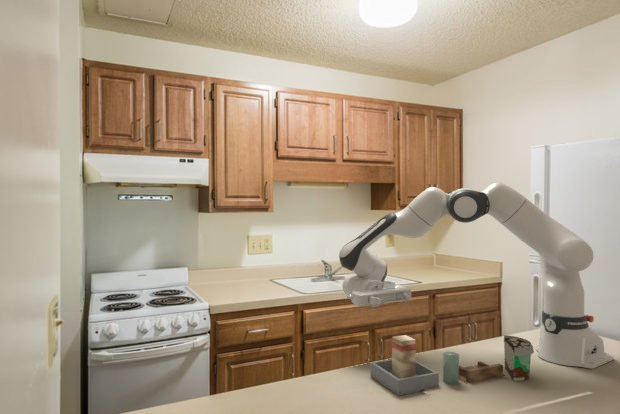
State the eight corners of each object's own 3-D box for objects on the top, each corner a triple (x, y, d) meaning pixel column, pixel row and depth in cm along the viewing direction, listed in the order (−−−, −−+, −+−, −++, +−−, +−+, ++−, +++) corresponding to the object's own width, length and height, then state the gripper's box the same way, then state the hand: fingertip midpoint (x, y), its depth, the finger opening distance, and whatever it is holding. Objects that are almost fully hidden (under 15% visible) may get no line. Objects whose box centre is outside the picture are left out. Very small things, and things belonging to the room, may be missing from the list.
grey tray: (408, 369, 125) (408, 356, 125) (438, 387, 112) (438, 373, 112) (370, 375, 120) (370, 362, 120) (398, 395, 107) (398, 380, 107)
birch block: (405, 374, 119) (405, 334, 119) (415, 380, 115) (415, 339, 115) (391, 376, 117) (391, 336, 117) (401, 383, 113) (401, 341, 113)
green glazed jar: (451, 379, 117) (451, 350, 117) (462, 385, 114) (462, 355, 114) (440, 382, 116) (440, 352, 116) (450, 387, 112) (450, 357, 112)
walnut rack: (481, 366, 127) (481, 354, 127) (506, 377, 119) (506, 364, 119) (443, 373, 122) (443, 360, 122) (466, 385, 113) (466, 372, 113)
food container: (540, 387, 112) (540, 349, 112) (515, 385, 113) (515, 348, 114) (526, 370, 124) (526, 335, 124) (503, 368, 126) (503, 334, 126)
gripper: (344, 286, 141) (365, 293, 128) (396, 281, 149) (421, 287, 136) (344, 305, 141) (366, 314, 128) (397, 299, 149) (421, 306, 136)
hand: (394, 300), depth 132 cm, fingers open, 8 cm apart
